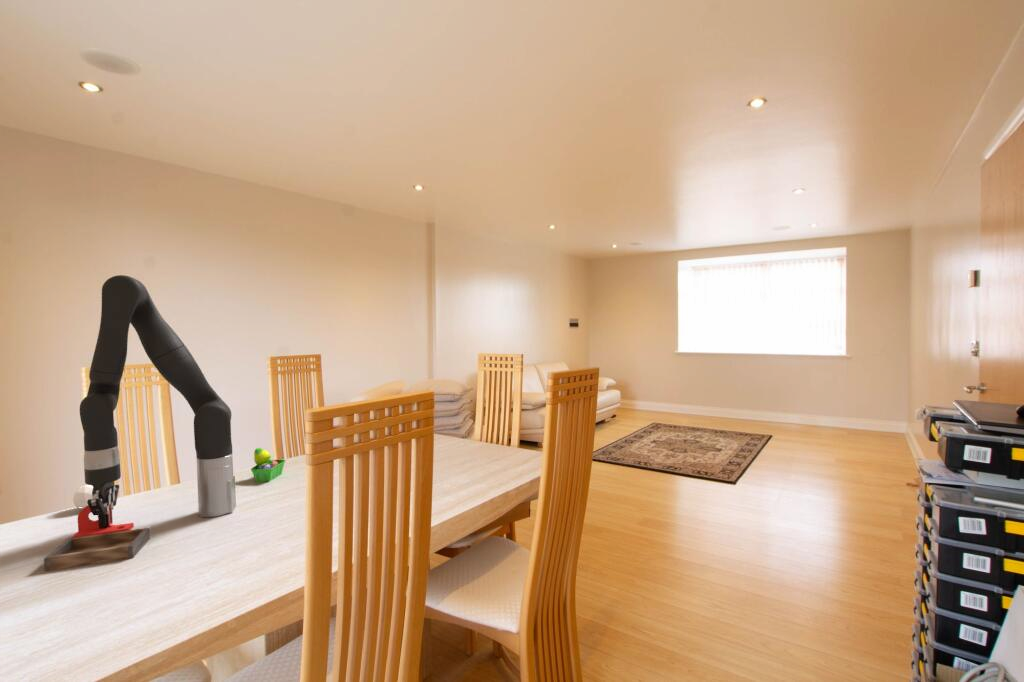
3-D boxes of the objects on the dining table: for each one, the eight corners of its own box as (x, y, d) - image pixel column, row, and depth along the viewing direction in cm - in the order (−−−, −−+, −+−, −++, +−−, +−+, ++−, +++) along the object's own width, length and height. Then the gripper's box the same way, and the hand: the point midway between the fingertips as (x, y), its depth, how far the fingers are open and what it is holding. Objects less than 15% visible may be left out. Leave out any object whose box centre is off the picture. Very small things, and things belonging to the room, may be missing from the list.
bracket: (72, 540, 126) (70, 511, 126) (80, 533, 131) (79, 505, 130) (127, 533, 131) (125, 504, 130) (133, 526, 135) (132, 499, 134)
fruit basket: (271, 482, 171) (270, 451, 170) (246, 483, 171) (245, 451, 170) (286, 472, 182) (285, 443, 182) (263, 473, 182) (262, 443, 182)
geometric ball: (93, 514, 151) (105, 489, 155) (102, 510, 147) (114, 484, 151) (63, 509, 146) (77, 483, 150) (72, 504, 142) (86, 478, 146)
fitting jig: (149, 538, 127) (149, 527, 127) (133, 557, 117) (132, 545, 116) (69, 550, 121) (69, 538, 121) (44, 571, 111) (43, 558, 111)
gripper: (108, 469, 126) (111, 534, 127) (129, 456, 139) (132, 514, 140) (72, 473, 124) (76, 538, 125) (97, 459, 136) (100, 518, 137)
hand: (105, 525), depth 132 cm, fingers closed on bracket, 1 cm apart
